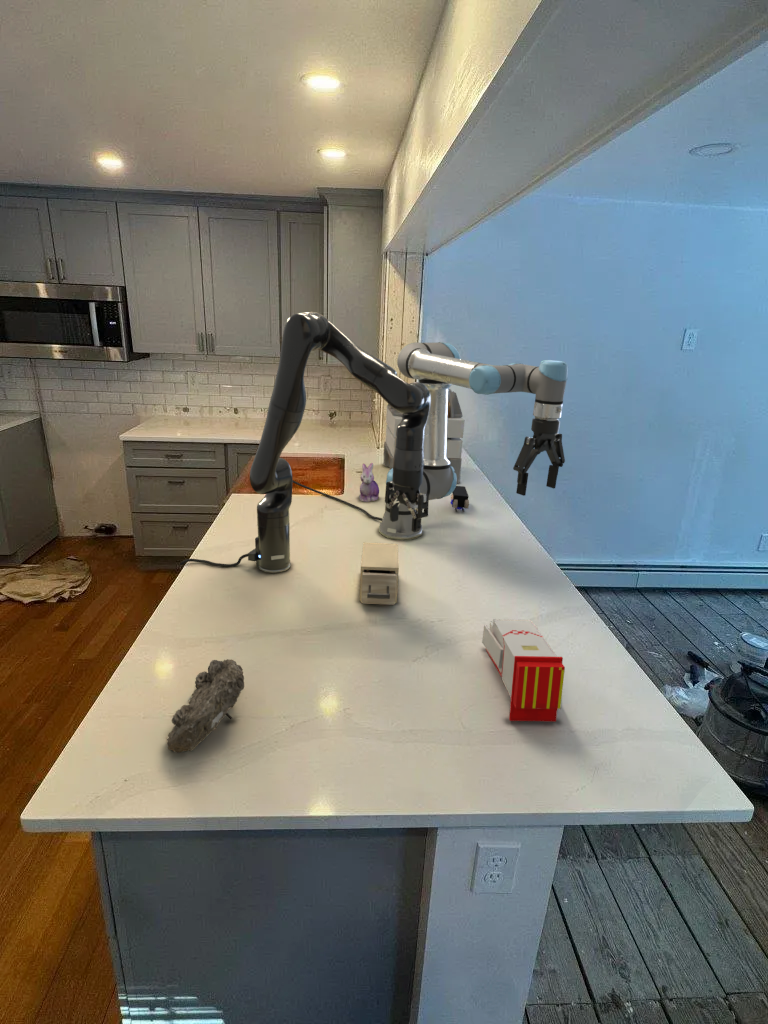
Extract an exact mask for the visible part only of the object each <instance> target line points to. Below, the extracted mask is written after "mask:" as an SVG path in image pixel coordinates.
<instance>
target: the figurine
mask: <svg viewBox="0 0 768 1024" xmlns="http://www.w3.org/2000/svg"><path fill="white" fill-rule="evenodd" d="M373 468H374V463H373V462H371V463H370V464H369V465H368V466H367V464H366V463H362V468H361V469H362V473H361V475H360V481H361V484H360V486H359V496H358V498H359V500H360V502H364V503H365V502H366V503H368V502H375V501H376V500H378V499H379V495H380V488H379V485H378V482H377V481H375V475H374V473H373Z"/></svg>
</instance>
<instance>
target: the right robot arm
mask: <svg viewBox="0 0 768 1024" xmlns="http://www.w3.org/2000/svg"><path fill="white" fill-rule="evenodd" d="M396 364H397V368H398V370H399V372H400V373H401V374H402V375H403V376H404V377H405V378H407V379H411V380H412V379H413V380H417V381H418V382H419V383H422V384H424V385H425V386H426V387H427V388H428V390H429V392H430V398H431V402H430V409H429V414H428V419H427V423H426V426H425V431H424V465H423V480H422V484H421V485H420V487H419V490H420V493H422V494H426V493H427V494H428V495H429V501H433V500H440V499H443V498H446V497H449V496H451V495H452V494H453V493H452V492H453V491H454V489H455V487H456V486H457V484H458V483H457V476H456V473H454V472H455V470H454V469H453V467H451V466H450V461H449V460H448V459H447V458H446V449H447V414H448V389H450V388H451V386H452V385H453V386H457V387H462V388H466V389H471V390H472V391H473V393H475V394H477V395H484V396H485V395H487V396H488V395H492V394H507V393H509V394H510V393H527V394H533V395H535V397H534V403H533V404H534V405H533V410H532V411H533V412H532V416H533V418H532V421H531V431H532V433H533V434H532V437H531V436H526V435H525V437H524V441H523V445H522V447H521V449H520V451H519V454H518V456H517V457H516V461H515V463H514V465H513V468H512V469H513V471H516V472H517V479H516V483H517V484H516V490H515V491H516V492H515V493H516V494H518V495H520V496H523V497H525V496H526V493H527V486H528V479H529V472H528V470H529V469H530V468H531V466H532V465H533V463H534V461H535V460H536V458H537V457H538V455H540V454H541V453H544V452H545V453H546V454H547V457H548V459H549V461H550V463H551V464H549V466H548V473H547V480H546V487H547V488H550V489H553V490H554V489H556V486H557V479H558V475H559V470H560V469H559V468H563V466H564V464H565V462H566V458H565V452H564V446H563V434H562V433H559V431H560V426H561V421H560V418H562V413H563V404H564V396H565V391H566V386H567V381H568V372H569V371H568V370H569V364H568V363H567V362H566V361H561V360H554V359H553V360H551V359H545V360H542V361H540V363H539V366H537V365H530V364H524V363H519V362H518V363H517V362H515V363H508V364H504V365H503V364H502V365H495V364H490V363H489V364H488V363H483V362H476V361H473V360H467V359H462V358H461V355H460V353H459V351H458V349H456V347H455V346H454V345H453V344H451V343H448V342H441V341H439V342H438V341H437V342H420V341H419V342H418V341H417V342H416V341H415V342H411V343H408V344H406V345H405V346H403V347H402V348H401V350H400V351H399V352H398V354H397V359H396ZM392 479H393V468H392V469H391V470H390V469H389V470H388V472H387V475H386V479H385V483H386V482H389V481H392ZM293 484H295V485H297V486H300V488H301V487H302V488H304V489H306V490H309V491H311V492H313V493H316V494H319V495H321V496H325V497H327V498H330V499H332V500H335V501H337V502H340V503H342V504H344V505H347V506H349V507H351V508H355V509H356V510H358V511H361V512H362V513H364V514H365V515H366V516H368V518H370V519H373V520H377V521H380V522H379V526H378V533H379V534H380V535H381V536H382V537H385V538H387V539H389V540H395V541H410V540H415V539H418V538H420V537H421V536H422V535H423V525H422V524H421V528H420V530H419V531H418V532H412V518H413V516H412V513H411V511H409V510H408V507H407V506H406V505H404V504H401V503H400V504H399V506H397V507H399V515H398V521H395V522H392V521H390V507H389V504H388V503H385V504H384V505H385V507H384V508H385V509H384V513H383V515H382V517H378V516H375V515H374V516H373V515H372V514H370V513H369V512H368V511H367V510H366V509H363V508H362V507H359V506H358V505H355V504H353V503H350V502H349V501H345V500H343V499H341V498H338V497H336V496H334V495H333V496H332V495H331V494H328V493H325V492H322V491H320V490H317V489H314V488H312V487H309V486H307V485H304V484H303V483H299V482H298V481H296V480H293ZM389 498H391V495H390V496H389ZM415 505H416V503H415V504H413V505H412V506H415ZM415 511H416V513H418V512H417V510H416V509H415Z"/></svg>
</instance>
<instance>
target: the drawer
mask: <svg viewBox="0 0 768 1024" xmlns="http://www.w3.org/2000/svg"><path fill="white" fill-rule="evenodd" d="M395 593H396V574H393V571H386V570H366V573H363V574H362V601H361V604H364V605H365V604H368V605H370V604H371V605H390V606H391V605H393V606H394V605H396V603H395Z"/></svg>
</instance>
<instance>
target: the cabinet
mask: <svg viewBox="0 0 768 1024" xmlns="http://www.w3.org/2000/svg"><path fill="white" fill-rule="evenodd" d="M361 552H362V553H361V561H360V577H359V579H360V580H359V584H360V585H359V602H362V574H363V573H366V570H386V571H393V574H396V593H395V604H397V603H398V591H399V589H398V588H399V572H400V570H399V569H400V565H399V564H400V563H399V544H398V543H385V542H384V543H383V542H366V541H365V542H363V543H362V551H361Z"/></svg>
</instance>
